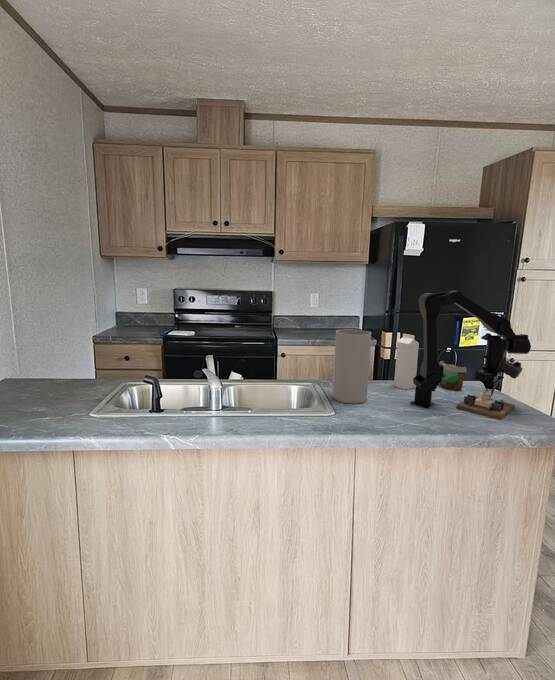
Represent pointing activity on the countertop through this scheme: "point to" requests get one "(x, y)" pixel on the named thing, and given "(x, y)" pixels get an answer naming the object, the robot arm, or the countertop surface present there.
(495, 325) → the robot arm
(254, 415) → the countertop surface
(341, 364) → the cylinder vase
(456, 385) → the food container
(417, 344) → the milk
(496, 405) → the stand
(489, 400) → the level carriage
